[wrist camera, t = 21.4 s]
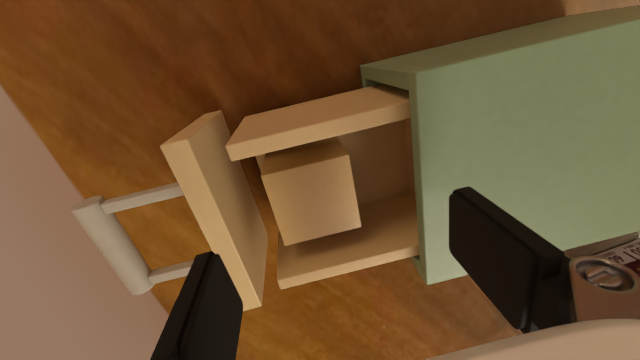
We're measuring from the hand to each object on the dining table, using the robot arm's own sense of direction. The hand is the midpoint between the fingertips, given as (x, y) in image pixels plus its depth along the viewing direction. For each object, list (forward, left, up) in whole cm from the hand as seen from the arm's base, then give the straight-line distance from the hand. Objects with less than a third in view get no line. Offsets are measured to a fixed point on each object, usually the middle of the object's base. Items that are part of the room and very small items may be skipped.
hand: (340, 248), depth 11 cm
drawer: (-3, 0, -10) cm, 10 cm away
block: (-1, 0, -9) cm, 9 cm away
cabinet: (+12, 0, -11) cm, 16 cm away
